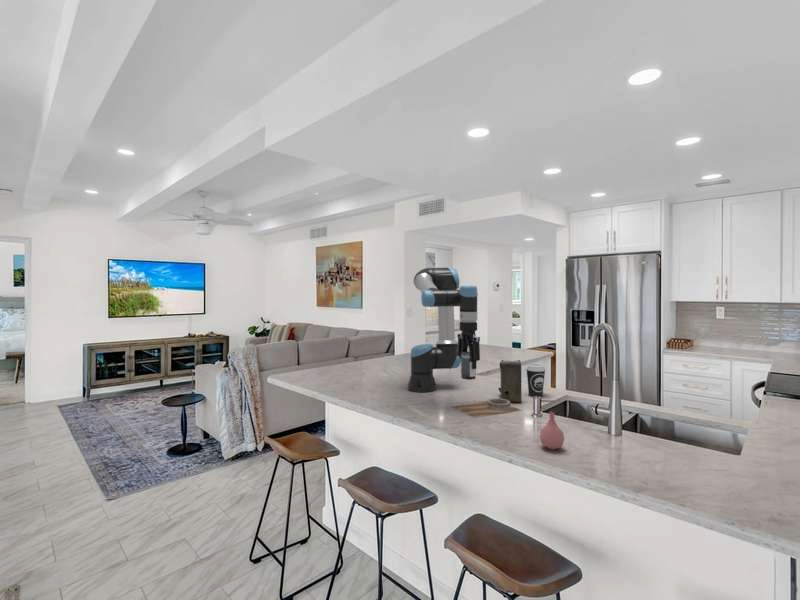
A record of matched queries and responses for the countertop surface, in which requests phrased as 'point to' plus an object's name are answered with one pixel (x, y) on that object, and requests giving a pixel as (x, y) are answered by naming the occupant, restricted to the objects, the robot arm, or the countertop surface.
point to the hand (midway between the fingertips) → (468, 374)
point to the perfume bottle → (552, 434)
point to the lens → (465, 365)
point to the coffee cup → (535, 379)
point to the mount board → (487, 408)
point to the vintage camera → (511, 381)
